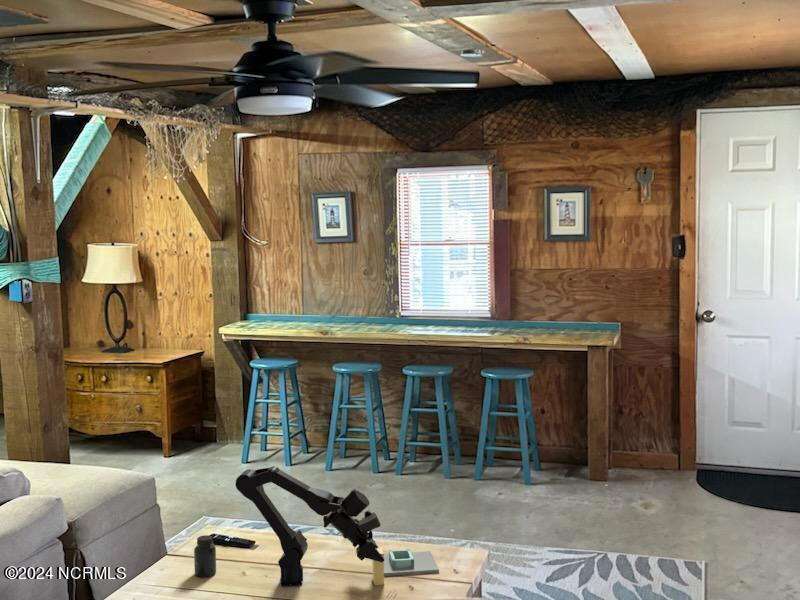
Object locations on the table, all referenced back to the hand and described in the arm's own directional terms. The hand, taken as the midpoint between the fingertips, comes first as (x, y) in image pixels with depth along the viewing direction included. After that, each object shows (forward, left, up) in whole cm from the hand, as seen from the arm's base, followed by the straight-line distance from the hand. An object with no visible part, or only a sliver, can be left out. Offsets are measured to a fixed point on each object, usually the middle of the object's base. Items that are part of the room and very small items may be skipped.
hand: (382, 557), depth 279 cm
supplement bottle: (-55, +15, -8) cm, 58 cm away
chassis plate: (+10, +12, -8) cm, 17 cm away
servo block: (-1, 0, -8) cm, 8 cm away
